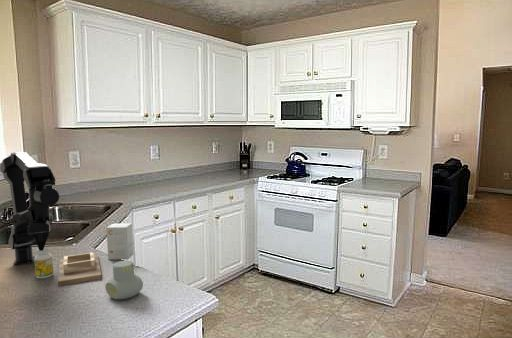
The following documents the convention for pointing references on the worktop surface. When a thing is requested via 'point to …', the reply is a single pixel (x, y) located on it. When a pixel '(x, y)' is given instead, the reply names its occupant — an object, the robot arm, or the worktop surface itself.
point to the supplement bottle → (43, 263)
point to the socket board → (78, 268)
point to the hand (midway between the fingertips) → (42, 246)
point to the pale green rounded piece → (123, 281)
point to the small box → (120, 241)
